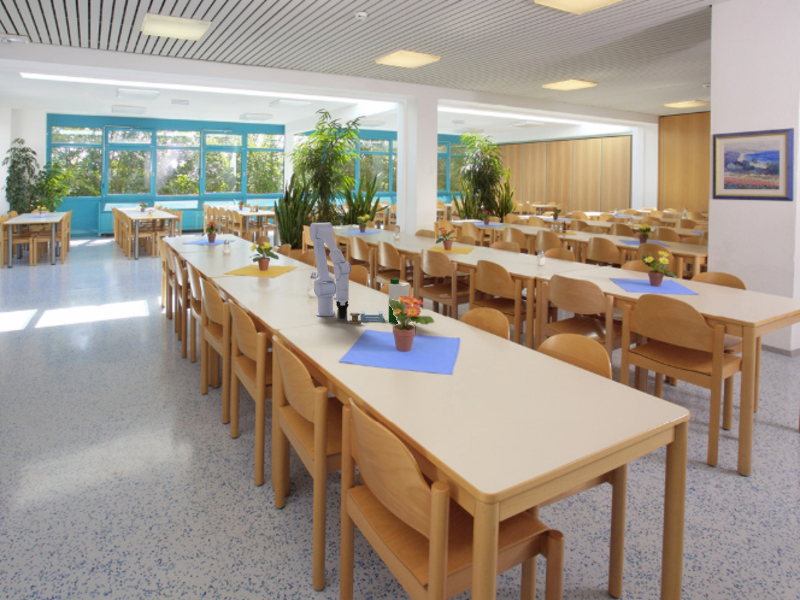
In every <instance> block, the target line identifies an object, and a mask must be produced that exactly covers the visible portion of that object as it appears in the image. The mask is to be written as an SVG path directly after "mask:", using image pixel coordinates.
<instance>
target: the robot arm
mask: <svg viewBox="0 0 800 600" xmlns="http://www.w3.org/2000/svg"><path fill="white" fill-rule="evenodd" d="M308 232H309V237H310V241H311V242H312V244H313V251H314V257H315V258H314V259H315V264H316V269H317V270H316V271H317V276H318V277H317V278H316V279H315V280H314V281H313V291H314V295H315V296H316V297H317V313H316V316H317V317H318V316H319V317H333V316H334V315H335V310H334V301H335V303H336V304H335V305H336V307H337V310H339V316H340V319H345V316H346V310H347V311H348V307H349V300H350V298H349V291H350V290H349V286H350V285H349V283H350V281H349V280H350V279H349V278H350V277H349V276H350V274H351V273H352V266H351V263H350V262H349V261H348V260H346V259H345V257H344V255H343V252H342V250H341V249H340V248H338V247H337V244H336V243H337V242H336V241H335V237H334V236H333V234H334V227H333V224H332V223H331V222H312V223H311V224H310V226H309V228H308ZM325 245H326V247H327V248H328V250H329V251H330V252H329V258H330V260H331V262H332V265H333V273H334V277H332V276H331V275H330V272H329V266H328V261H327V259H328V258H327V253H326V248H325Z"/></svg>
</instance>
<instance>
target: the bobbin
mask: <svg viewBox="0 0 800 600" xmlns="http://www.w3.org/2000/svg"><path fill="white" fill-rule="evenodd" d="M349 315H350V316H351V319H349V321H348V323H349V324H352V325H358V324H361V323H362V322H361V321H360V319H359V316H361V312H350V313H349Z"/></svg>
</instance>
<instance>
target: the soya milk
mask: <svg viewBox="0 0 800 600" xmlns="http://www.w3.org/2000/svg"><path fill="white" fill-rule="evenodd" d="M387 286H388V302H389V301H390V300H392V299H394V300H398V298H399V297H400V296H409V297H410V282H404V281H403V282H401V281H400V278H398V277H393V278H390V282H389V283H388V284H387ZM389 322H392V323H391V324H398V322H397V320H396V317H395V316H394V315H393V310H392V308H391V307H390V306H389V305H388V323H389Z"/></svg>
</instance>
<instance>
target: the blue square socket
mask: <svg viewBox="0 0 800 600" xmlns="http://www.w3.org/2000/svg"><path fill="white" fill-rule="evenodd" d="M383 313H384V312H383V311H381V310H379V311H378V314H366V311H365V310H361V311H360V315H359V316H360V317H359V320H360V321H361V323H363V322H364V323H365V322H366V323H384V314H383Z"/></svg>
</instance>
